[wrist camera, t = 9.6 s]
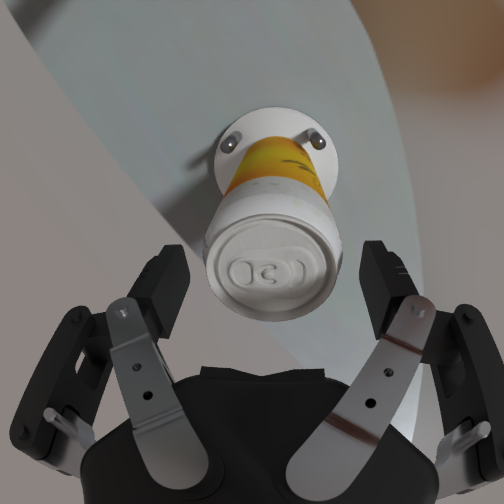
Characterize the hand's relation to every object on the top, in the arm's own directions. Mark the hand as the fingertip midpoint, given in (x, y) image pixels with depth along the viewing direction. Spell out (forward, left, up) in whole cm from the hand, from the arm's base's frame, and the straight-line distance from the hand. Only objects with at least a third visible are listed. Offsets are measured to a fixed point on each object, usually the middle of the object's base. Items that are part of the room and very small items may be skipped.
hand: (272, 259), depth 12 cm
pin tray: (0, 0, -15) cm, 15 cm away
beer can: (0, 0, -14) cm, 14 cm away
